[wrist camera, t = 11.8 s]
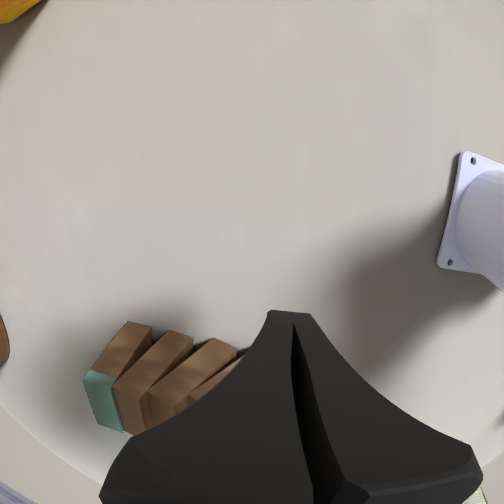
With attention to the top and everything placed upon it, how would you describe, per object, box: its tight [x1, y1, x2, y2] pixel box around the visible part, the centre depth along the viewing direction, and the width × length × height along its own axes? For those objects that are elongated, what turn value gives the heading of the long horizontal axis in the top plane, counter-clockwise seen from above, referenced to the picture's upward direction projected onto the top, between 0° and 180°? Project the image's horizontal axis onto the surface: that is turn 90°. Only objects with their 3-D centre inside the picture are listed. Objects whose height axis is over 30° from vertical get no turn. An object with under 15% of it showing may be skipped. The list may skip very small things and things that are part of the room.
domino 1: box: [83, 322, 153, 433], centre depth 20 cm, size 2×5×7 cm, turn 174°
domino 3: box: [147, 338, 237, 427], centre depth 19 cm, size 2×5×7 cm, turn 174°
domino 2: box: [112, 330, 193, 436], centre depth 20 cm, size 2×5×7 cm, turn 174°
